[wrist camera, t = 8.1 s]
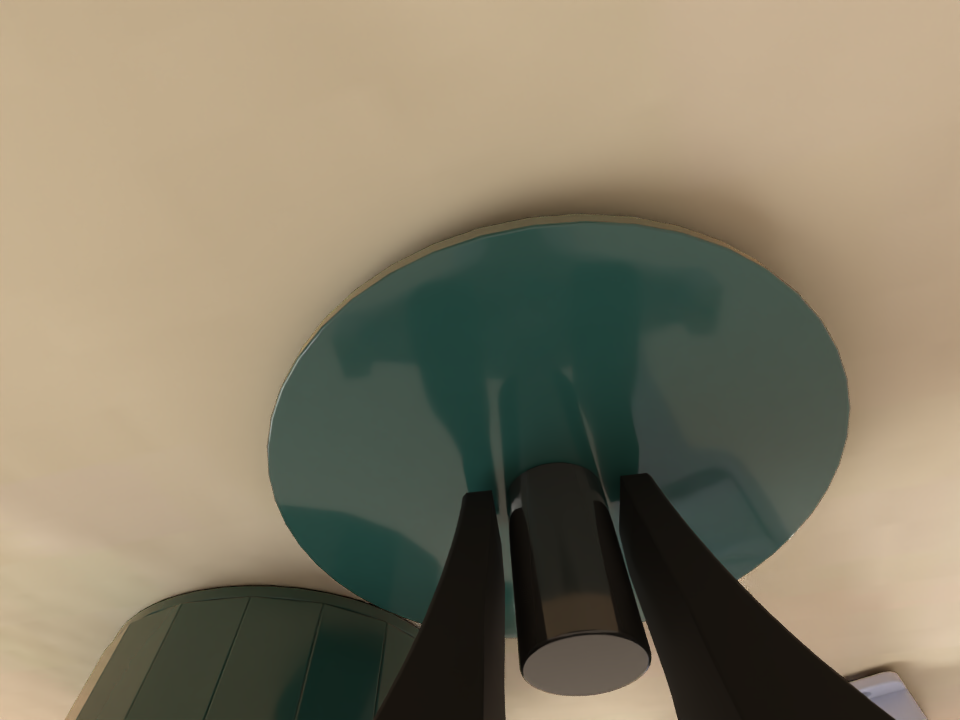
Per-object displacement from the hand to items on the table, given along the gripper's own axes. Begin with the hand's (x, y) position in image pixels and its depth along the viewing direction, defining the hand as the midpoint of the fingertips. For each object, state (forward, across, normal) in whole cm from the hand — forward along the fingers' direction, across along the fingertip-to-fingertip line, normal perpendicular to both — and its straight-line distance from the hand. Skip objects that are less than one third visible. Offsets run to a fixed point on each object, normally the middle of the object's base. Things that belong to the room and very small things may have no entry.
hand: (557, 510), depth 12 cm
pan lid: (+1, 0, 0) cm, 1 cm away
